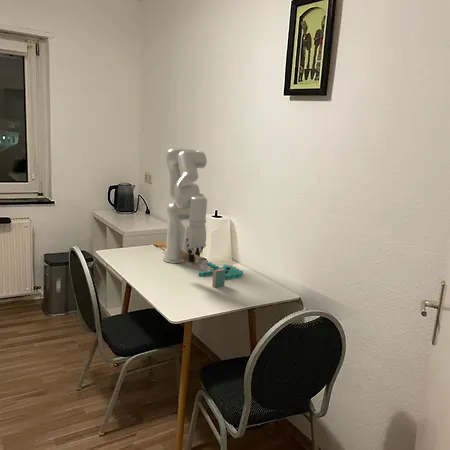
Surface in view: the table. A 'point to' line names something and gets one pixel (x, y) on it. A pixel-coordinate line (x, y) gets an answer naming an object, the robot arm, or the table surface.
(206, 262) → the brown flat bar
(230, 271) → the alien figure
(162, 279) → the table surface
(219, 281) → the tile
